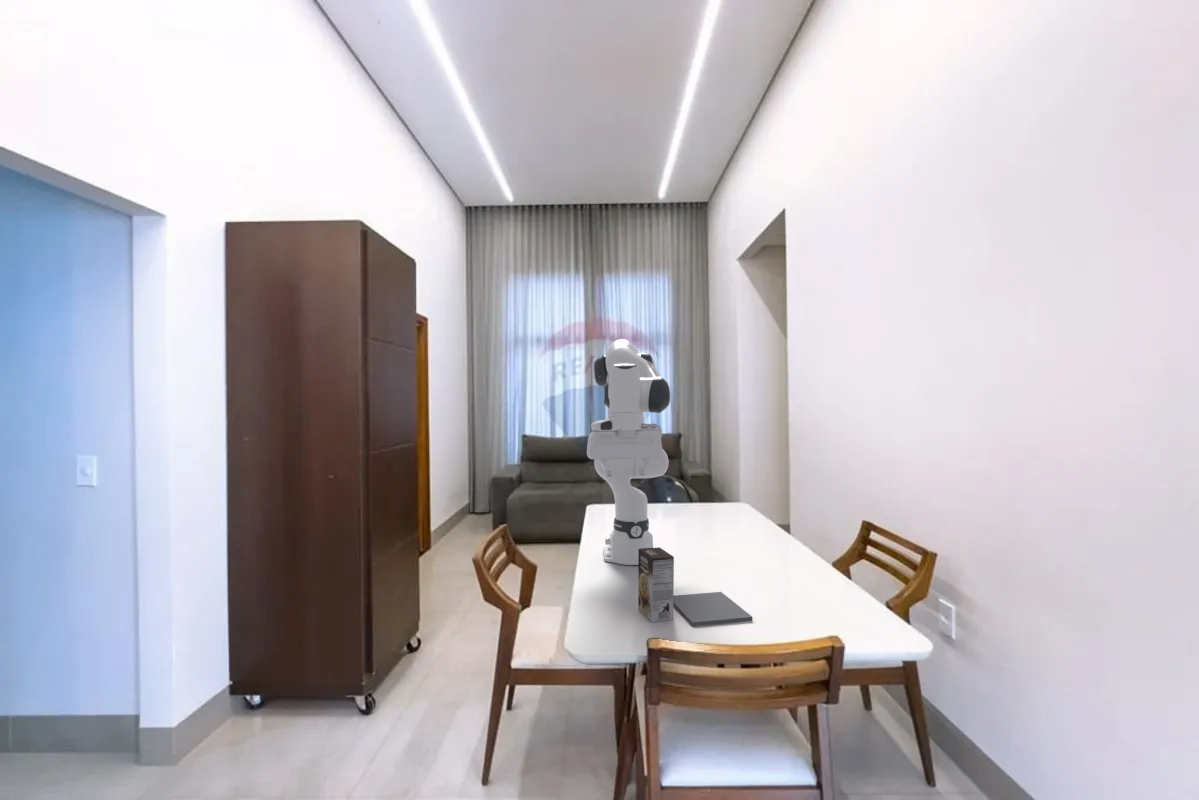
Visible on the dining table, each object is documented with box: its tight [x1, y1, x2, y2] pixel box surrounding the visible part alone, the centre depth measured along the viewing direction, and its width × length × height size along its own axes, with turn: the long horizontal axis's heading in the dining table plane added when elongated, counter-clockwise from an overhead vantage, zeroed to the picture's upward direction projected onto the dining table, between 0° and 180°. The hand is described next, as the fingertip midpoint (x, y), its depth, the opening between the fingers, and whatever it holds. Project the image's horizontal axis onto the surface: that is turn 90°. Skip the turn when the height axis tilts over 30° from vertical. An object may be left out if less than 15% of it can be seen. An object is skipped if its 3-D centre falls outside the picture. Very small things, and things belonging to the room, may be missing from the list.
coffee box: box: [637, 547, 675, 623], centre depth 140 cm, size 9×6×16 cm
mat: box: [673, 591, 753, 627], centre depth 143 cm, size 18×16×1 cm
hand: (625, 475), depth 144 cm, fingers open, 8 cm apart
